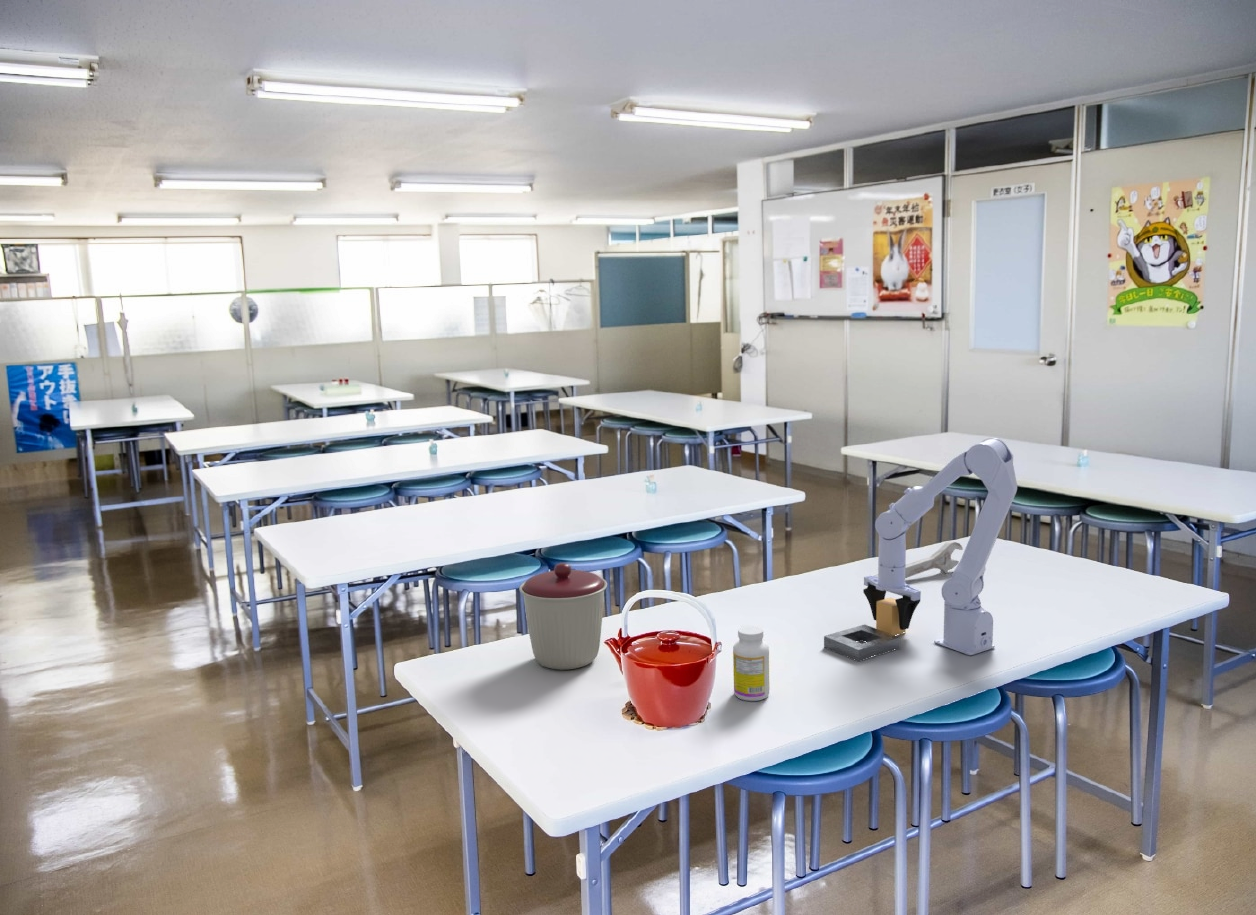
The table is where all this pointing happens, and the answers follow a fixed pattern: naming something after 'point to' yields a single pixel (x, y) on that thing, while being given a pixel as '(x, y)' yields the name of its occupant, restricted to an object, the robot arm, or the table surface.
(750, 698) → the supplement bottle
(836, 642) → the square hole plate
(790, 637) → the table surface
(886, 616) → the square block
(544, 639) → the canister
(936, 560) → the wrench
